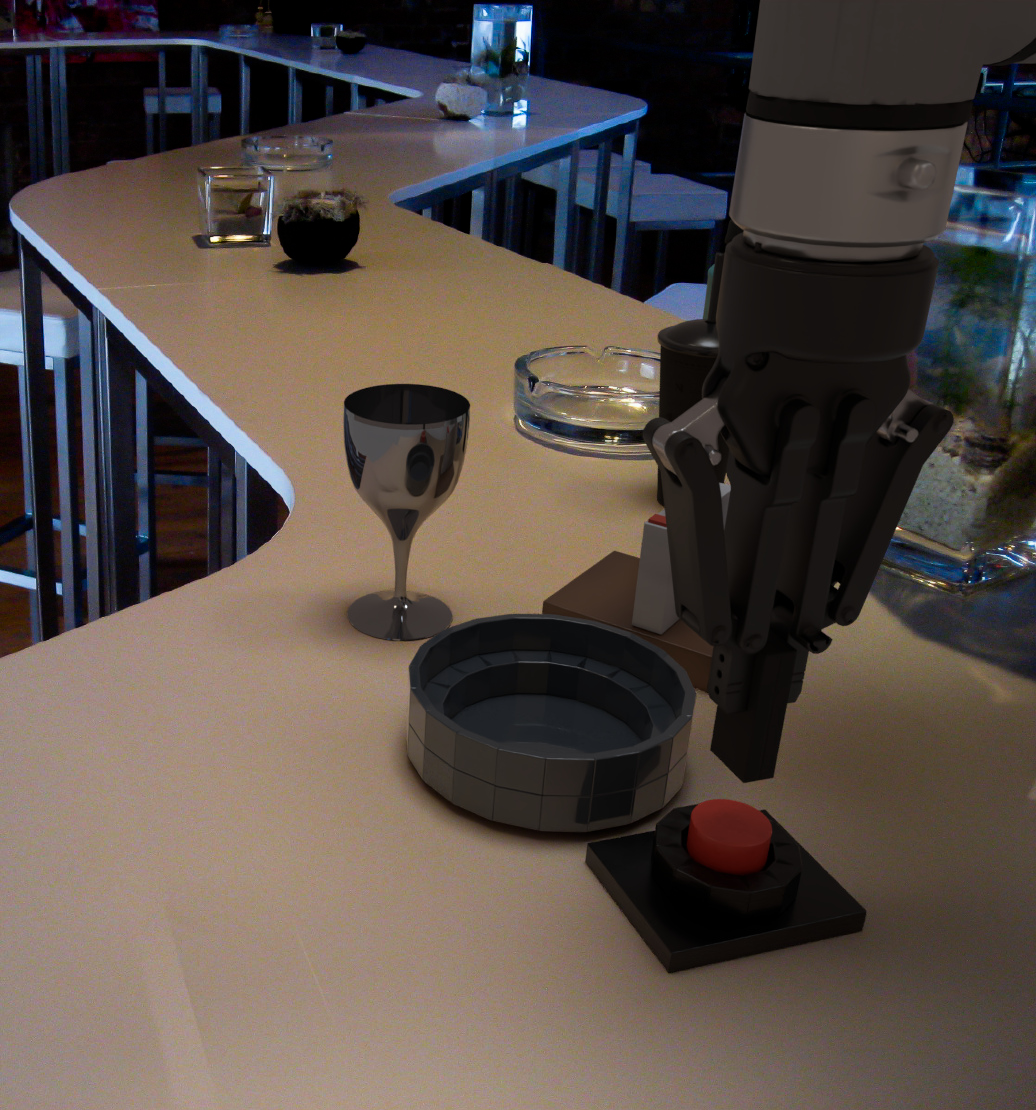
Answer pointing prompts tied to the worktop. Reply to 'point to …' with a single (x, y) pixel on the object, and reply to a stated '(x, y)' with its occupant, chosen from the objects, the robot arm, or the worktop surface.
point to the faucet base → (628, 612)
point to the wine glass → (404, 489)
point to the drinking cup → (690, 367)
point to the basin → (549, 721)
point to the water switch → (719, 896)
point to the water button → (729, 836)
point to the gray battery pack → (659, 574)
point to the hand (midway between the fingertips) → (741, 763)
